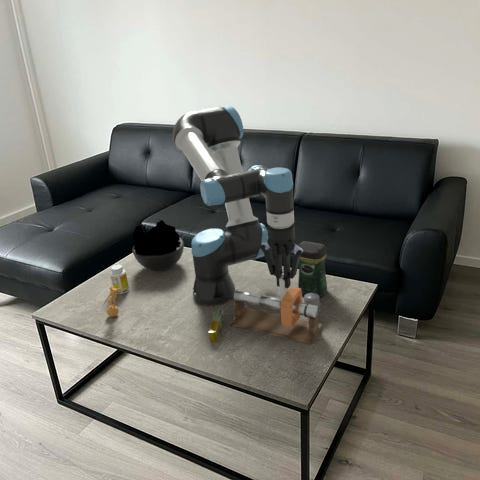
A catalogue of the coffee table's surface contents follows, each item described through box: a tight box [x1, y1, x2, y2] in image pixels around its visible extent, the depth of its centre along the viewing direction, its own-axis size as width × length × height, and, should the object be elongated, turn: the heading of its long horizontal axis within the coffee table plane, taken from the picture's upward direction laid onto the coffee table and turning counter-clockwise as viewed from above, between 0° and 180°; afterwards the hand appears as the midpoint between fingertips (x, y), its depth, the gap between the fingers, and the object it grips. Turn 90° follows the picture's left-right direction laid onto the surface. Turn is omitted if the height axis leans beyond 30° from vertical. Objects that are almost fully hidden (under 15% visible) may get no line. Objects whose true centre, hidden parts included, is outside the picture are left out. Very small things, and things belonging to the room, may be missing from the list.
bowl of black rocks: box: [132, 219, 185, 272], centre depth 187 cm, size 20×20×19 cm
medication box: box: [207, 309, 225, 343], centre depth 150 cm, size 12×3×4 cm, turn 172°
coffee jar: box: [297, 240, 328, 298], centre depth 163 cm, size 10×8×19 cm
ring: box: [280, 286, 303, 328], centre depth 144 cm, size 3×10×10 cm, turn 153°
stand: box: [230, 301, 323, 345], centre depth 149 cm, size 27×9×7 cm, turn 63°
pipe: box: [233, 289, 318, 318], centre depth 147 cm, size 27×4×4 cm, turn 63°
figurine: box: [103, 286, 121, 318], centre depth 160 cm, size 8×6×12 cm
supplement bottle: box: [109, 263, 130, 295], centre depth 175 cm, size 6×6×10 cm
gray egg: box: [303, 293, 320, 314], centre depth 154 cm, size 5×5×6 cm
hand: (284, 295), depth 143 cm, fingers closed
